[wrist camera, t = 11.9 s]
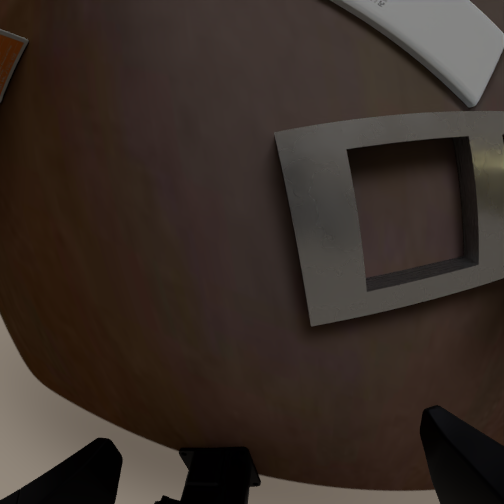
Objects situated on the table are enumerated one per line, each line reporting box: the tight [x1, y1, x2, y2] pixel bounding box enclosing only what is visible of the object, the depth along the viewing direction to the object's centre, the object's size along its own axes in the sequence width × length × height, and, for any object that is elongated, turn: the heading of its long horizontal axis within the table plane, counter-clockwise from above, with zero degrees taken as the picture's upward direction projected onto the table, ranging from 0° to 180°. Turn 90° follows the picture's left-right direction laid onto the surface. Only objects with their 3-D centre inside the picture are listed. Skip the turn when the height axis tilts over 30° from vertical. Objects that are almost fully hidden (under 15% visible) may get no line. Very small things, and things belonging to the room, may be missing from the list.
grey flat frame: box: [274, 111, 504, 326], centre depth 16 cm, size 11×26×2 cm, turn 102°
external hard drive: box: [330, 0, 504, 108], centre depth 14 cm, size 2×8×12 cm
